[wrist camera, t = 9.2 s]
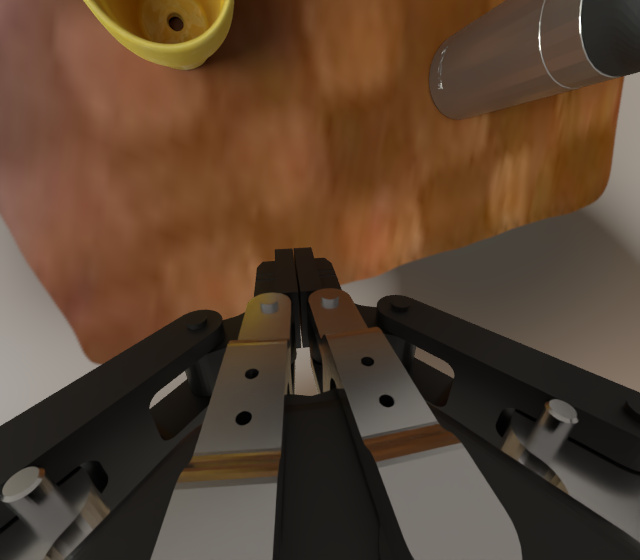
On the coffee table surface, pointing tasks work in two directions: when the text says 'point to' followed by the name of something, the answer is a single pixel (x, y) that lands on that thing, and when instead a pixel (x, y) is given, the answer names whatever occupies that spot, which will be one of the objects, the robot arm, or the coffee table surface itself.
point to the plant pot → (167, 28)
